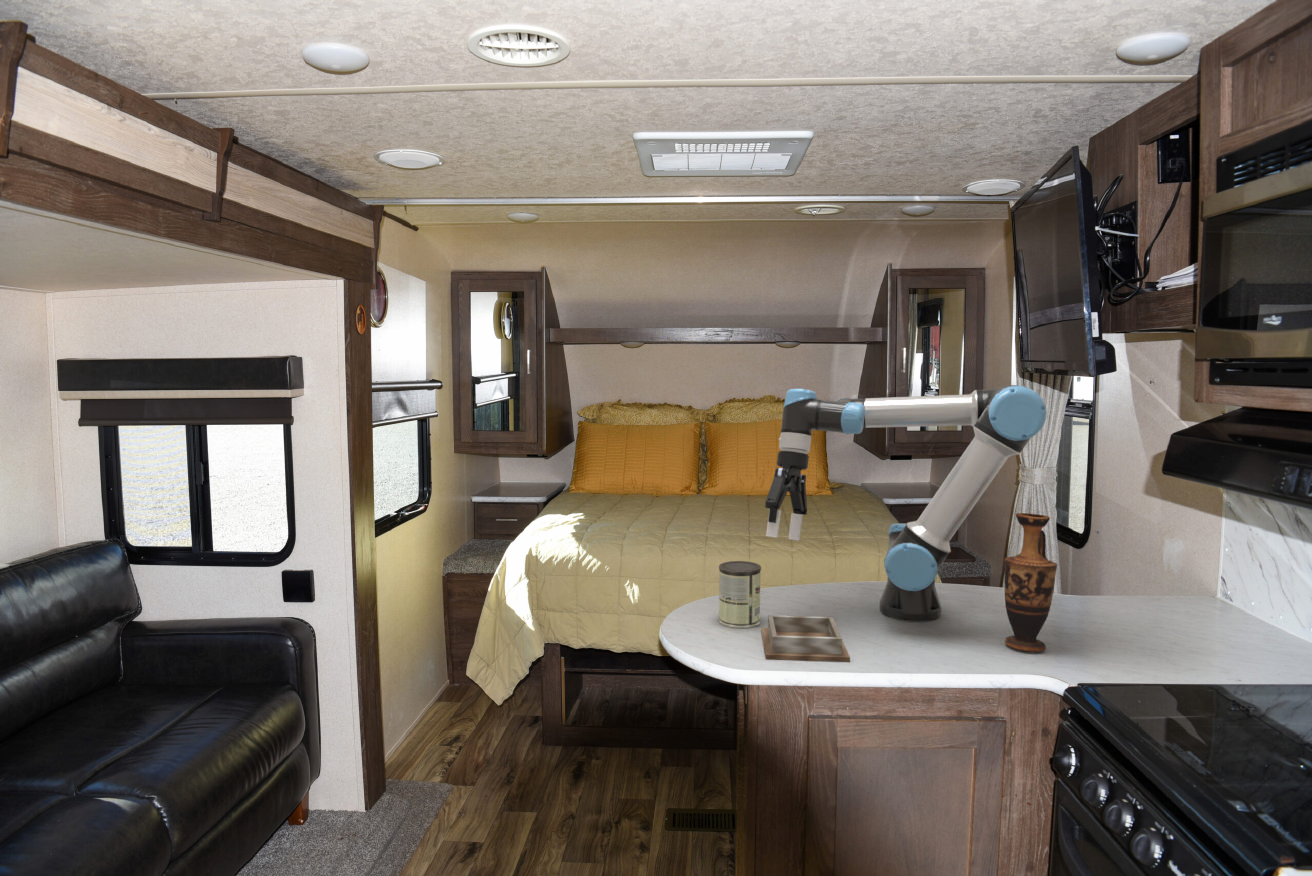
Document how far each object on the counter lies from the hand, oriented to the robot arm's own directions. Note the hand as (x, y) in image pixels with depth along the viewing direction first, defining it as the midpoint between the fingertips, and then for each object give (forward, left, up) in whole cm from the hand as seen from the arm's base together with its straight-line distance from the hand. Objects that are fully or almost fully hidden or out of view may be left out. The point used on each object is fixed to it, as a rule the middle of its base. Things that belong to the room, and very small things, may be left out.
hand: (783, 538), depth 197 cm
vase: (-54, +11, -21) cm, 59 cm away
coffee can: (+10, -1, -22) cm, 24 cm away
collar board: (-4, +15, -21) cm, 26 cm away
